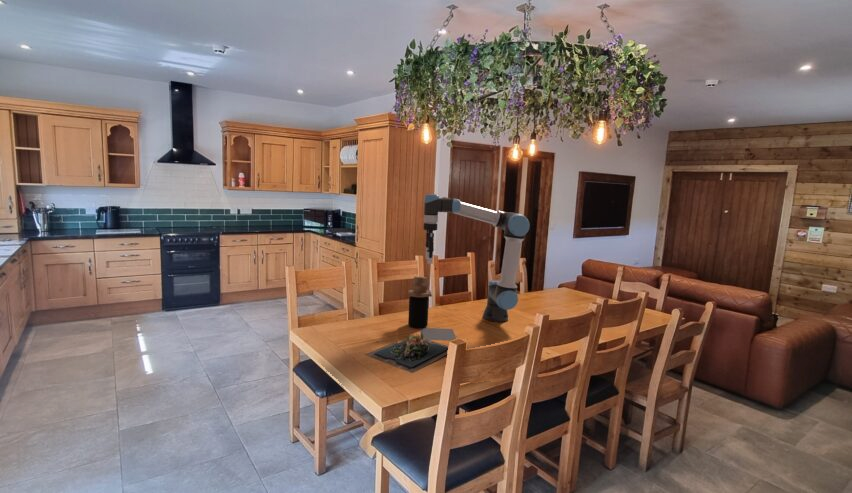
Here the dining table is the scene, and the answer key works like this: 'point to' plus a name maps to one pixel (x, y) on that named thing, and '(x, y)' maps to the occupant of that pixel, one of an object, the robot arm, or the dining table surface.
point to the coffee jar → (418, 311)
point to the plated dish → (410, 353)
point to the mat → (438, 334)
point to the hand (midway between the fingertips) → (428, 261)
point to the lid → (420, 287)
